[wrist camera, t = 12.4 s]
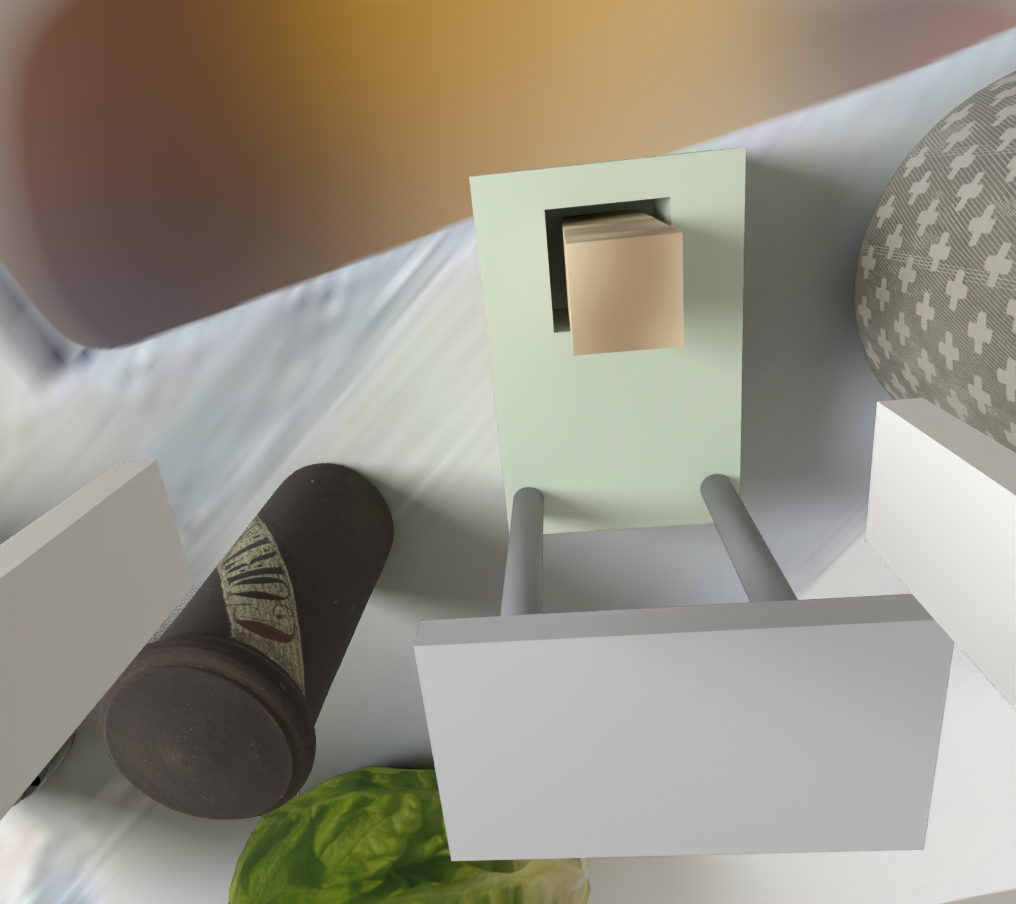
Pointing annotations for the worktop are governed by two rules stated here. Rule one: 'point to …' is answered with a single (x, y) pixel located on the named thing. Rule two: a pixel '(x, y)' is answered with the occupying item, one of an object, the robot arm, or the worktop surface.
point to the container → (252, 654)
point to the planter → (949, 268)
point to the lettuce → (385, 851)
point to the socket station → (666, 630)
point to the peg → (623, 282)
